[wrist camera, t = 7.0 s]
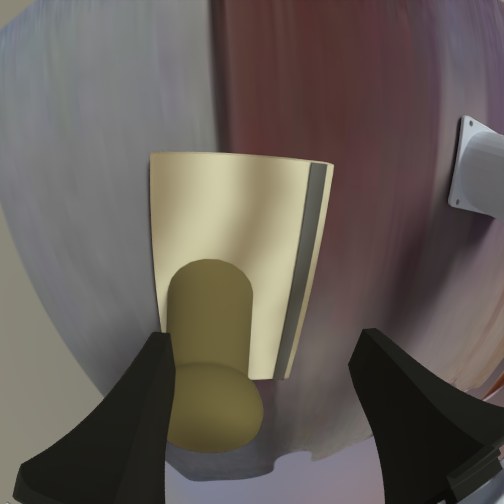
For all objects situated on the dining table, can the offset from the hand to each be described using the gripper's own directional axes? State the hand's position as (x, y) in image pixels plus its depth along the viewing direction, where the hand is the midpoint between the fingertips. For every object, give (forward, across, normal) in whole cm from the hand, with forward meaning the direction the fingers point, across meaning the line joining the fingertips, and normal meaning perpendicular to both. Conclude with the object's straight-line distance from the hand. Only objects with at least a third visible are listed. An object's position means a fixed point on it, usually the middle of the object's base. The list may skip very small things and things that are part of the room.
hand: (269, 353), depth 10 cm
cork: (+9, +2, +4) cm, 10 cm away
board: (+10, +1, +4) cm, 11 cm away
